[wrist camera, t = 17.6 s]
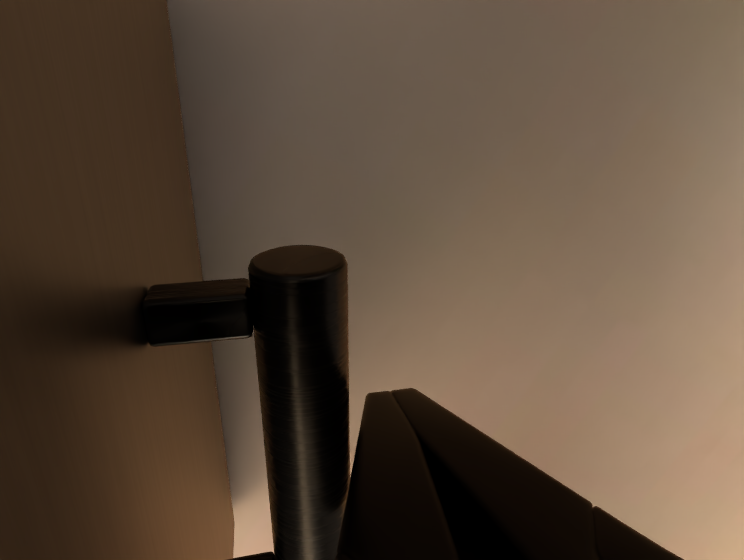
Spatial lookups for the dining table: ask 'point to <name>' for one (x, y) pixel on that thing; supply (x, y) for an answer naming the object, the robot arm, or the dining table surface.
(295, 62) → the dining table surface
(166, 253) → the drawer
